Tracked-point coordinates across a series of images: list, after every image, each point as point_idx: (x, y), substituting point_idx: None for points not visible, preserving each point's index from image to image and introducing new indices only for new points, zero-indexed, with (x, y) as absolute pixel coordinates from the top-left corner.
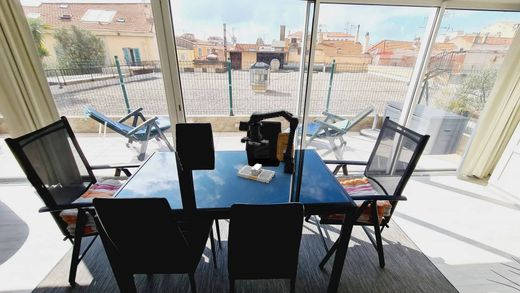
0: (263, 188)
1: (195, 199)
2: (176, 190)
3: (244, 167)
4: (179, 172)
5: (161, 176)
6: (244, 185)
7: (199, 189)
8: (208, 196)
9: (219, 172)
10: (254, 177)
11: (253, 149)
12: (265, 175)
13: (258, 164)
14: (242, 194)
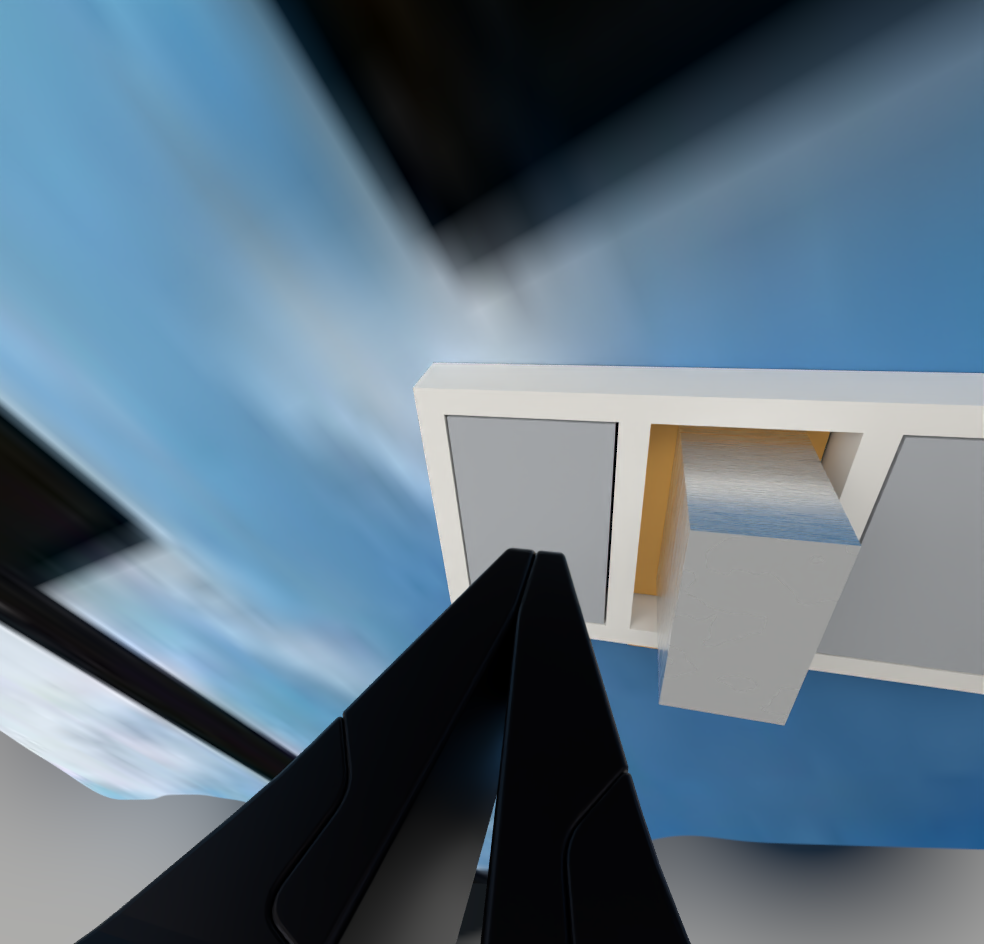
0: (908, 735)
1: None
2: (251, 780)
3: (445, 469)
4: (37, 639)
5: (36, 691)
6: (647, 713)
7: None
8: None
9: (249, 573)
10: None
11: (476, 860)
12: (942, 601)
13: (759, 541)
14: (688, 802)
